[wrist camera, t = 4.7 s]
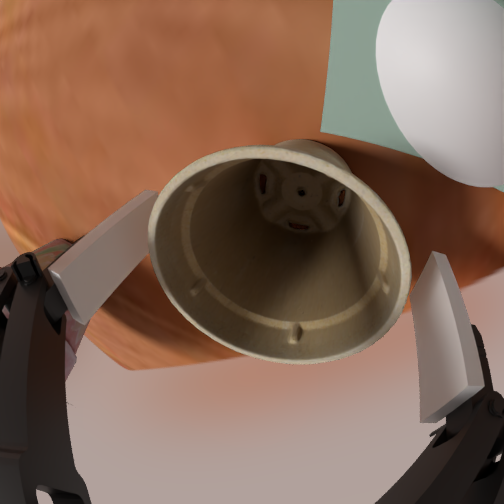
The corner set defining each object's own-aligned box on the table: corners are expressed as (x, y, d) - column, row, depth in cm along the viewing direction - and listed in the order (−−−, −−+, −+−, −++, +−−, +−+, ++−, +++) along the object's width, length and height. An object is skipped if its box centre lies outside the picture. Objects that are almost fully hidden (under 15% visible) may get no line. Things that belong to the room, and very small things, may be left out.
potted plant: (91, 323, 39) (16, 433, 20) (25, 227, 30) (-77, 337, 11) (161, 332, 31) (64, 497, 12) (69, 191, 22) (-98, 368, 3)
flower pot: (359, 91, 11) (386, 106, 5) (393, 242, 16) (408, 359, 9) (206, 139, 16) (107, 201, 9) (260, 261, 20) (215, 361, 13)
